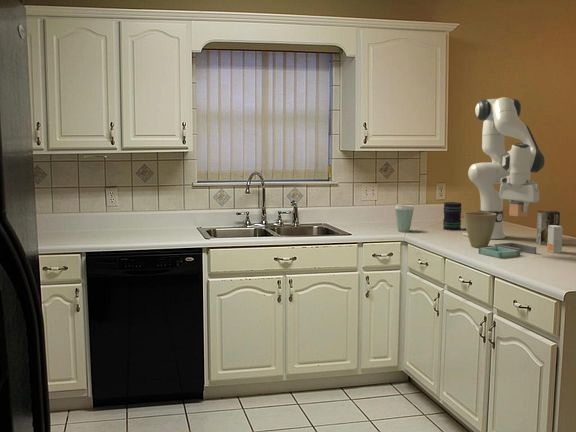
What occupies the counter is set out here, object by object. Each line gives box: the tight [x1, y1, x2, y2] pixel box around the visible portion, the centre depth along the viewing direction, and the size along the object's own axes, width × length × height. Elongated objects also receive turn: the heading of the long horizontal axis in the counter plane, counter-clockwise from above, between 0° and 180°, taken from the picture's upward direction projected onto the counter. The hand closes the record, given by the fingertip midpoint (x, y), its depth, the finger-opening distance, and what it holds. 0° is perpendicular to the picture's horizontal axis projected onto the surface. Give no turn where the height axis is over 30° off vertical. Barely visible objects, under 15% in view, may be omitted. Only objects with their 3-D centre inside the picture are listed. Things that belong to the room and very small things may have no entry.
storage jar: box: [442, 201, 462, 232], centre depth 378 cm, size 10×10×15 cm
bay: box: [493, 242, 537, 257], centre depth 304 cm, size 15×11×3 cm
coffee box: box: [535, 210, 561, 246], centre depth 327 cm, size 9×6×16 cm
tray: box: [478, 246, 519, 259], centre depth 297 cm, size 13×11×2 cm
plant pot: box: [463, 211, 496, 249], centre depth 318 cm, size 15×15×16 cm
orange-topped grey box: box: [508, 200, 529, 217], centre depth 300 cm, size 5×6×6 cm
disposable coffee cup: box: [394, 203, 415, 233], centre depth 370 cm, size 11×11×15 cm
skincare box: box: [546, 225, 564, 254], centre depth 304 cm, size 6×4×12 cm
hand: (518, 210), depth 300 cm, fingers closed on orange-topped grey box, 5 cm apart
